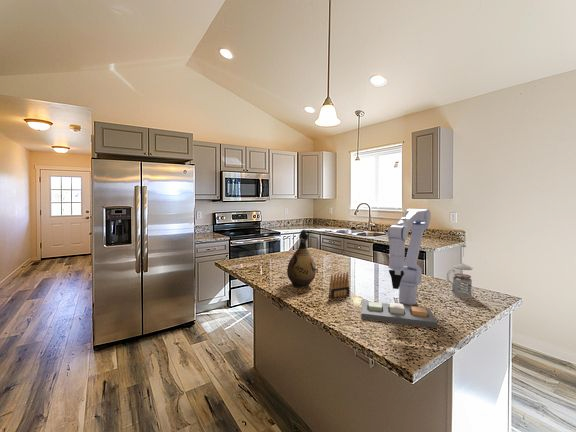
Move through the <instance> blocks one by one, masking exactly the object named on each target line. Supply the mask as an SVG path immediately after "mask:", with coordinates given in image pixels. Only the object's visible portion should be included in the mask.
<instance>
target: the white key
mask: <svg viewBox="0 0 576 432" xmlns="http://www.w3.org/2000/svg"><path fill="white" fill-rule="evenodd" d="M388 304H389V311H390V313H397V314H404V306H403V305H404V304H403V303H396V302H389V303H388Z"/></svg>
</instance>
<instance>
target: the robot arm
mask: <svg viewBox="0 0 576 432" xmlns="http://www.w3.org/2000/svg"><path fill="white" fill-rule="evenodd" d="M430 223H431V210H430V209H429V208H407V209H406V210H405V214H404V217H401V219H399V220H398V221H397V222H396V223H395V224H394V225H393V224H392V225H391V226H388V229H387V238H388V244H389V251H388V253H389V254H388V255H389V256H388V257H389V258H388V267H387V268H388V273H389V275H390V277H391V287H392V289H393V290H394V289H395V290H398V297H396V299H397V300H398V301H399V303H400V304H403V305H408V306H413V305H416V304H417V299H418V298H417V297H418V296H417V294H418V293H417V292H418V291H417V290H418V286H419V285H421V283H422V279H423V278H422V276H423V269H422V268H421V266H420V265H419V264H417V263H418V259H419V254H420V251H421V250H420V249H421V245H422V240H423V235H424V233H425V231H426V230H428V229H429V227H430ZM410 231H411V235H410V239H409V243H408V247H407V252H406V246H405V245H406V240H407V239H408V236H409V232H410ZM405 254H406V256H405Z"/></svg>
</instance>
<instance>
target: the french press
mask: <svg viewBox="0 0 576 432" xmlns="http://www.w3.org/2000/svg"><path fill="white" fill-rule="evenodd" d="M461 247H462V248H463V249H462V256H464V253H465V252H464V251H465V250H464V249H465V248H467V245H466V244H464V243H463V244H461ZM453 268H454V269H456V270H461V272H462V273H456V270H454V269H453ZM453 268H452V269H449V271H447V273H446V280H447V281H448V283H450V284H451V285H452V289H451V290H452V291H450V292H449V294H450V295H451V296H452V297H456V298H460V297H461V299H473V298H474V296H473V294H472V281H473V280H472V279H471V278H472V276H471V275H469V274H465V273H464V271H472V270H473V269H474V268H473V267H471V266H470V265H468V264H466V263H458V264H455V265H453ZM452 272H453V273H454V274H453V277H452V282H450V278H449V277H450V273H452ZM472 297H473V298H472Z"/></svg>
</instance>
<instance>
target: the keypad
mask: <svg viewBox="0 0 576 432" xmlns="http://www.w3.org/2000/svg"><path fill="white" fill-rule="evenodd" d="M369 302H370V301H368V300H363V301H362V307H361V314H360V315H361V319H363V320H370V321H377V322H378V321H379V322H385V323H387V322H388V323H393V324H394V323H395V324H402V325H408V326H409V325H410V326H418V327H425V328H434V329H437V328H438V320H436V317H435V315H434V313H433V312H432V310H431V308H430V307H424V306H423V308H425V309H426V311H427V317H423V316H414V315H411V306H412V305H407V304H403V306H404V314H397V313H390V311H389V304H390V303H387V302H381V303H382V312H379V311H371V310H369ZM377 303H379V302H377ZM414 307H417V306H416V305H415V306H414Z"/></svg>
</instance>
